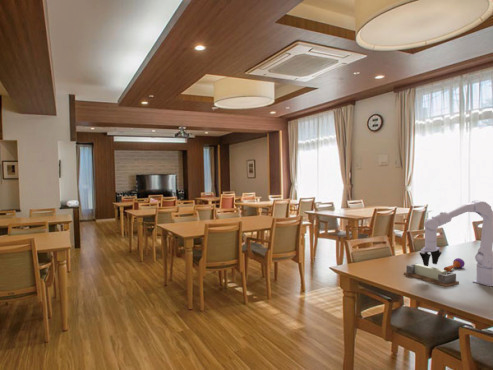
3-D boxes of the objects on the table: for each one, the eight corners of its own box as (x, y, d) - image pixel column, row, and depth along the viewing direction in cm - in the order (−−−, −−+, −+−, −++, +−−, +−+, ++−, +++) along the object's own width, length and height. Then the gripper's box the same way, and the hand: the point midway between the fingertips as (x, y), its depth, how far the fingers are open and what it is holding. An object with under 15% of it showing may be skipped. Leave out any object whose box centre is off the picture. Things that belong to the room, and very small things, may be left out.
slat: (446, 280, 180) (446, 270, 180) (441, 281, 178) (441, 271, 178) (419, 272, 194) (419, 263, 194) (414, 273, 192) (414, 264, 192)
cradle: (458, 283, 177) (459, 274, 177) (446, 286, 172) (446, 276, 172) (416, 271, 200) (416, 262, 199) (403, 274, 195) (403, 265, 194)
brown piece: (440, 264, 201) (454, 257, 213) (442, 274, 201) (456, 266, 213) (451, 264, 197) (465, 257, 208) (453, 275, 196) (467, 266, 208)
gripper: (432, 238, 192) (431, 261, 193) (415, 240, 186) (415, 264, 186) (444, 240, 186) (443, 264, 186) (427, 242, 179) (427, 267, 180)
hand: (430, 264), depth 186 cm, fingers open, 7 cm apart
